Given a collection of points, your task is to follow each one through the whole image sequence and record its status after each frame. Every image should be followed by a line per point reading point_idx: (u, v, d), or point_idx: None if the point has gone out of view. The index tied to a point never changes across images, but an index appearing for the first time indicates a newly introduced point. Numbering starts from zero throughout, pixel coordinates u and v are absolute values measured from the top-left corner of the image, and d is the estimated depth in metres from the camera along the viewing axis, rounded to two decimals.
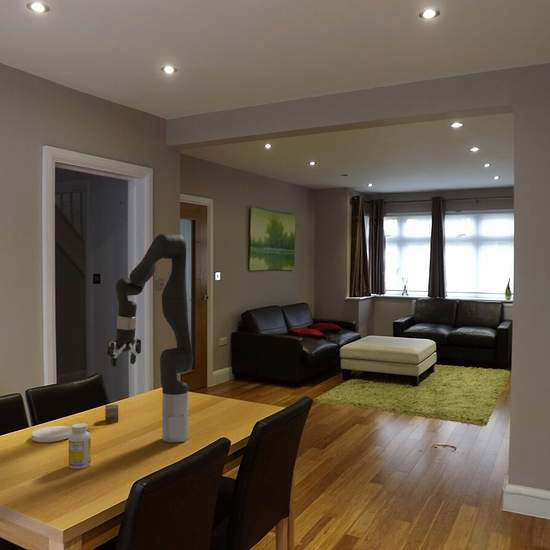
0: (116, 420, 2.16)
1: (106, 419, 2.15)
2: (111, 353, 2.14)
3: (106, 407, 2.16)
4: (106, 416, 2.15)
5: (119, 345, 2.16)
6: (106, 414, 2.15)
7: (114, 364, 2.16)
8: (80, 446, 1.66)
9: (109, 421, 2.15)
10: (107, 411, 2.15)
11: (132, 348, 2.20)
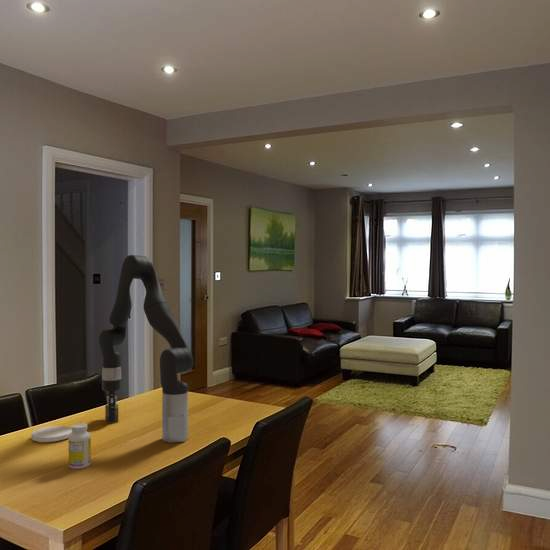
0: (116, 420, 2.16)
1: (106, 419, 2.15)
2: None
3: (106, 407, 2.16)
4: (106, 416, 2.15)
5: (114, 398, 2.15)
6: (106, 414, 2.15)
7: (114, 418, 2.15)
8: (80, 446, 1.66)
9: None
10: (107, 411, 2.15)
11: None
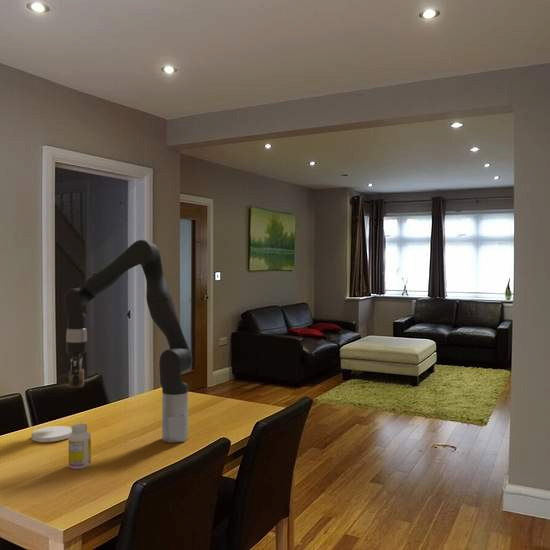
0: (80, 385, 2.03)
1: (70, 383, 2.02)
2: (78, 371, 2.00)
3: (70, 371, 2.03)
4: (70, 380, 2.02)
5: (78, 362, 2.02)
6: (70, 378, 2.02)
7: (78, 383, 2.02)
8: (80, 446, 1.66)
9: None
10: (71, 375, 2.02)
11: (81, 363, 2.07)
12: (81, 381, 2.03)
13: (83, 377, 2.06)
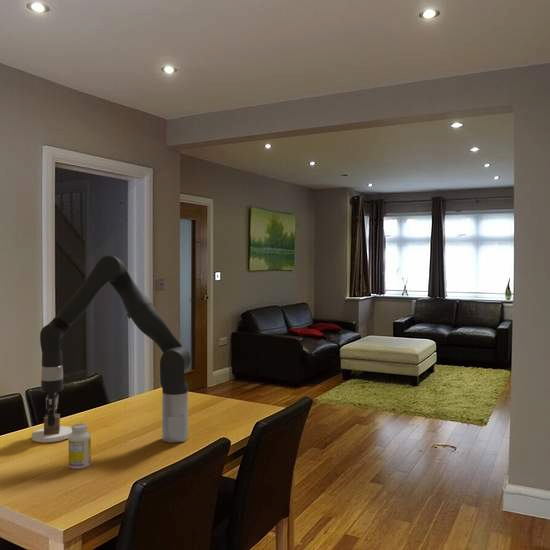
0: (56, 431, 1.94)
1: (45, 430, 1.93)
2: (54, 410, 1.91)
3: (45, 417, 1.94)
4: (45, 427, 1.93)
5: (54, 400, 1.94)
6: (45, 425, 1.93)
7: (53, 422, 1.93)
8: (80, 446, 1.66)
9: (48, 432, 1.94)
10: (46, 422, 1.93)
11: (57, 401, 1.99)
12: (57, 427, 1.94)
13: (59, 423, 1.97)
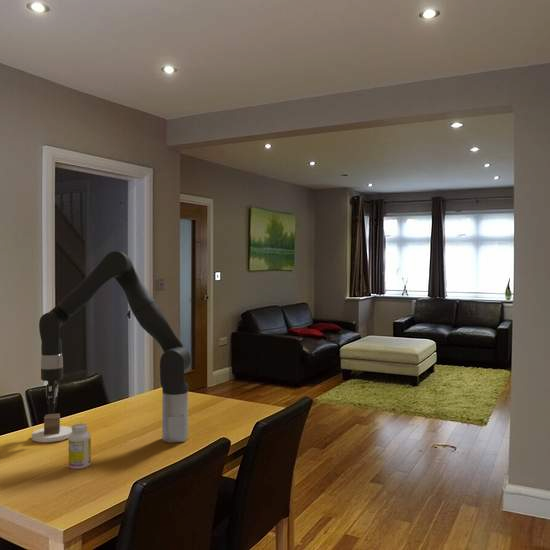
0: (56, 431, 1.95)
1: (45, 430, 1.93)
2: (54, 398, 1.90)
3: (45, 417, 1.95)
4: (45, 427, 1.93)
5: (54, 387, 1.93)
6: (45, 425, 1.93)
7: (53, 410, 1.92)
8: (80, 446, 1.66)
9: (48, 432, 1.94)
10: (46, 422, 1.93)
11: (57, 389, 1.99)
12: (57, 427, 1.95)
13: (59, 422, 1.97)
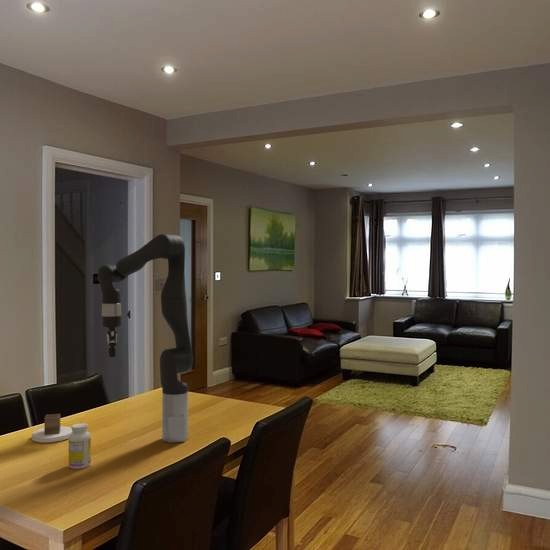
0: (57, 431, 1.95)
1: (45, 430, 1.94)
2: (115, 342, 2.08)
3: (46, 417, 1.95)
4: (45, 427, 1.94)
5: None
6: (45, 425, 1.93)
7: (114, 354, 2.10)
8: (80, 446, 1.66)
9: (49, 432, 1.94)
10: (47, 422, 1.94)
11: None
12: (57, 427, 1.95)
13: None
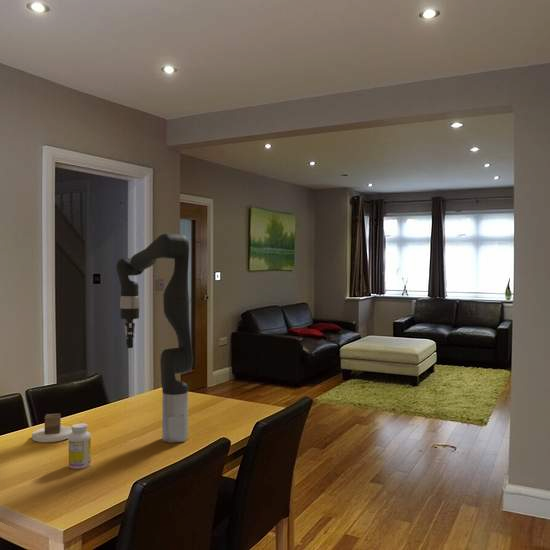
0: (57, 431, 1.95)
1: (45, 430, 1.94)
2: (133, 333, 2.14)
3: (46, 417, 1.95)
4: (45, 427, 1.94)
5: (132, 325, 2.17)
6: (45, 424, 1.94)
7: (132, 345, 2.15)
8: (80, 446, 1.66)
9: (49, 432, 1.94)
10: (47, 422, 1.94)
11: None
12: (57, 427, 1.95)
13: None
